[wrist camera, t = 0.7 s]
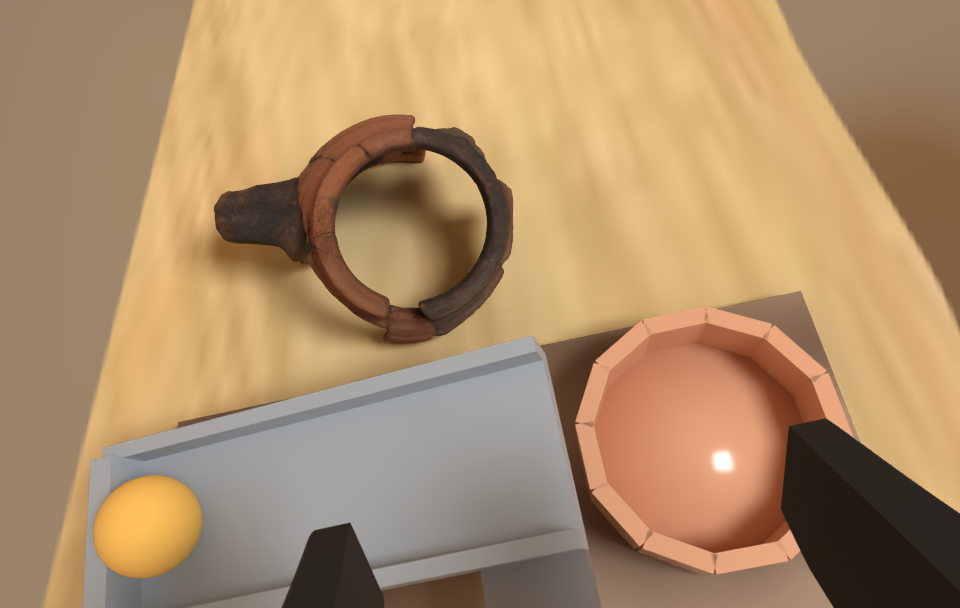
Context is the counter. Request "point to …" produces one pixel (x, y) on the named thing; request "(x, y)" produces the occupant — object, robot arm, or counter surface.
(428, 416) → the lever
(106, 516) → the ball
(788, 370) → the orange bowl
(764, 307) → the base
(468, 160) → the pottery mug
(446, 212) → the counter surface
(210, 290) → the counter surface
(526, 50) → the counter surface
